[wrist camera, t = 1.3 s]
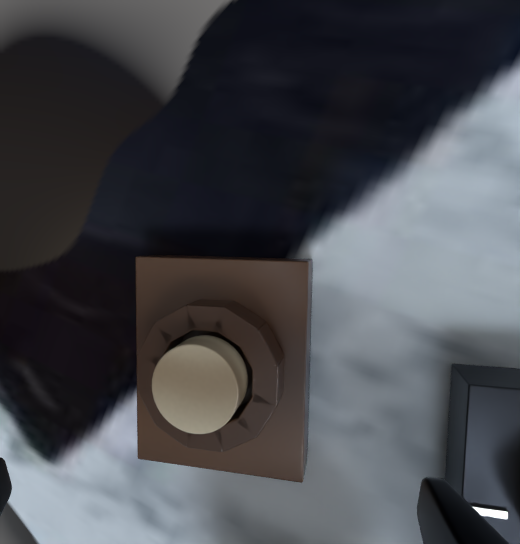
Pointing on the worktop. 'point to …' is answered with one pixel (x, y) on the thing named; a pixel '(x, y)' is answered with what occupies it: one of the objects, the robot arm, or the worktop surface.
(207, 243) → the worktop surface
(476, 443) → the dimmer panel
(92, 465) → the worktop surface
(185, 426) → the button
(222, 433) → the switch block
